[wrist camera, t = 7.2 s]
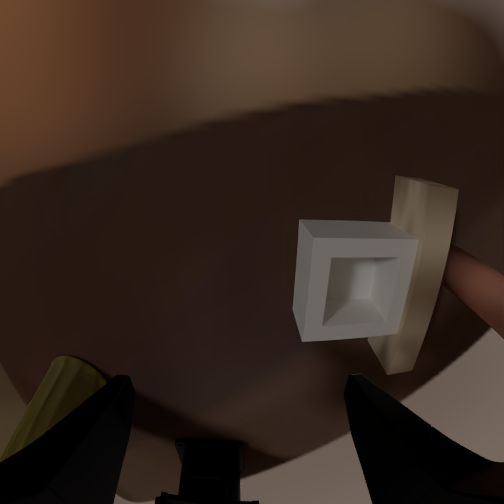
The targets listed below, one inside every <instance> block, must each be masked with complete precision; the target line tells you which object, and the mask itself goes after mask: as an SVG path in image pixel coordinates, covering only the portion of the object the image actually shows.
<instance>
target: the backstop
mask: <svg viewBox="0 0 504 504" xmlns="http://www.w3.org/2000/svg"><path fill="white" fill-rule="evenodd" d="M457 198H458V189H455V188H452V187H449V186H445V185H442V184H438V183H435V182H431V181H428V180H424V179H420V178H413V177H405V176H396V175H395V186H394V197H393V206H392V214H391V223H392V224H394V225H396V226H397V227H399V228H401V229H402V230H404V231H406V232H407V233H409V234H410V235H412V236H414V237H415V238H417V239H418V246H417V251H416V256H415V261H414V266H413V271H412V276H411V280H410V285H409V289H408V293H407V297H406V301H405V305H404V309H403V312H402V316H401V320H400V323H399V327H398V330H397V334H390V335H382V336H372V337H368V340H367V341H368V342H369V344H370V346H371V347H372V349H373V351H374V353H375V354H376V356H377V358H378V360H379V361H380V363H381V365H382V367H383V368H384V370H385V372H386V374H387V375H390V374H396V373H401V372H407V371H412V369H413V367H414V364H415V362H416V359H417V357H418V354H419V351H420V349H421V346H422V343H423V340H424V337H425V335H426V332H427V329H428V326H429V323H430V320H431V316H432V313H433V310H434V307H435V303H436V300H437V296H438V293H439V289H440V285H441V281H442V277H443V273H444V269H445V265H446V261H447V256H448V251H449V247H450V242H451V236H452V231H453V225H454V219H455V213H456V206H457Z"/></svg>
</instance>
